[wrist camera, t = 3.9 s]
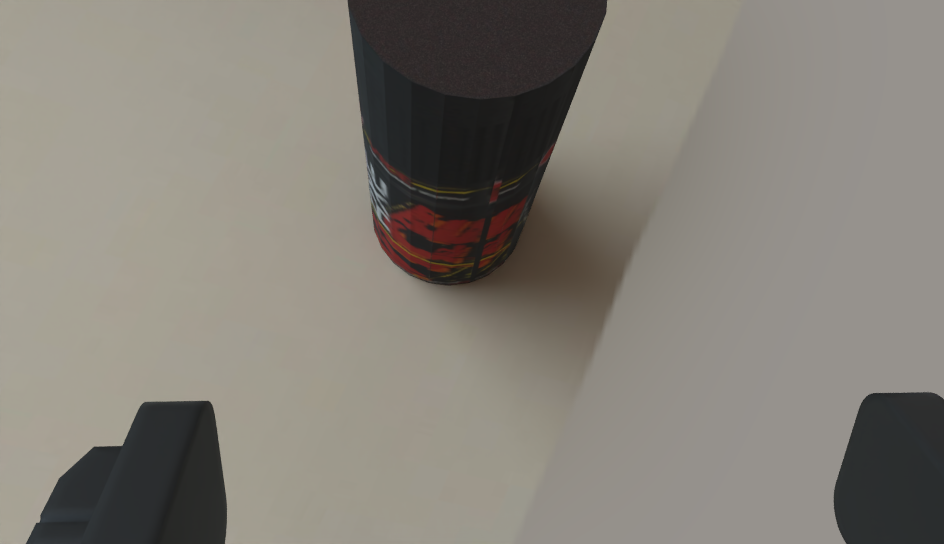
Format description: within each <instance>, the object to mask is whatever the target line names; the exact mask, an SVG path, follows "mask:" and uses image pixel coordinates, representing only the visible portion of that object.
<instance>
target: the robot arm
mask: <svg viewBox="0 0 944 544" xmlns="http://www.w3.org/2000/svg"><path fill="white" fill-rule="evenodd" d="M834 510H835V516H836V520H837V524H838V528H839V530H840V533H841V535H842V537H843V538H844V540H845V542H846V544H944V399H943V398H942V397H940V396H938V395H937V394H935V393H927V392H923V393H873V394H870V395H868V396H867V397H866V398H865V399H864V400H863V402H862V403H861V406H860V408H859V411H858V414H857V417H856V420H855V424H854V427H853V430H852V433H851V437H850V440H849V443H848V446H847V450H846V453H845V456H844V459H843V462H842V465H841V469H840V472H839V475H838V479H837V482H836V485H835V490H834ZM40 516H41V520H40V523H36V525H35V527H34V529H33V531H32V533H31V535H30V537H29V539H28V541H27V543H26V544H225V537H226V525H227V503H226V493H225V486H224V478H223V471H222V464H221V457H220V449H219V442H218V435H217V427H216V420H215V414H214V410H213V406H212V404H211V403H210V402H209V401H174V402H144V403H143V404H142V405H141V406H140V408H139V410H138V412H137V414H136V416H135V419H134V421H133V423H132V426H131V428H130V430H129V432H128V435H127V437H126V439H125V442H124V444H123V446H107V447H93V448H92V449H91V450H90V451H89V452H88V453H87V454H86V455H85V456H83V457H82V458H81V459H80V460H79V461H78V462H77V463H76V464H75V465H74V466H72V467H71V468H70V469H69V470H68V471H67V472H66V473H65V474H64V475H63V476H61V477H60V478H59V480H58V482H57V484H56V486H55V488H54V490H53V492H52V494H51V496H50V498H49V500H48V502H47V504H46V505H45V507H44V509H43V511H42V513H41V515H40Z"/></svg>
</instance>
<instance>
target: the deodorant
mask: <svg viewBox="0 0 944 544" xmlns="http://www.w3.org/2000/svg"><path fill="white" fill-rule="evenodd" d="M348 7H349V16H350V25H351V33H352V42H353V50H354V59H355V68H356V76H357V85H358V94H359V102H360V111H361V119H362V128H363V137H364V145H365V154H366V162H367V171H368V180H369V188H370V197H371V206H372V214H373V222H374V230H375V233H376V235H377V237H378V240H379V242H380V245H381V247H382V249H383V250H384V251H385V252H386V254H387V255H388V256H389V257H390V259H391V260H392V261H393V262H394V264H396V265H397V266H398V267H400V268H401V269H403V270H404V271H405V272H407V273H408V274H409V275H411V276H414V277H416V278H419V279H421V280H424V281H426V282H429V283H436V284H444V285H454V284H462V283H469V282H472V281H474V280H477V279H479V278H482V277H484V276H487V275H489V274H490V273H491V272H493V271H494V270H495V269H497V268H498V267H499V266H501V265H502V264H503V263H504V262H505V260H506V259H507V258H508V257H509V255H510V254H511V253H512V251H513V250H514V249H515V247H516V244H517V242H518V239H519V236H520V234H521V231H522V229H523V226H524V224H525V221H526V219H527V216H528V213H529V211H530V208H531V206H532V203H533V201H534V198H535V195H536V193H537V190H538V188H539V185H540V182H541V180H542V177H543V175H544V172H545V170H546V167H547V164H548V162H549V159H550V157H551V154H552V151H553V149H554V146H555V144H556V141H557V139H558V136H559V133H560V131H561V128H562V126H563V123H564V120H565V118H566V115H567V113H568V110H569V108H570V105H571V102H572V100H573V97H574V95H575V92H576V89H577V87H578V84H579V82H580V79H581V77H582V74H583V71H584V69H585V66H586V64H587V61H588V59H589V56H590V53H591V51H592V48H593V46H594V43H595V40H596V38H597V35H598V33H599V30H600V28H601V25H602V22H603V20H604V17H605V15H606V8H607V0H348Z"/></svg>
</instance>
